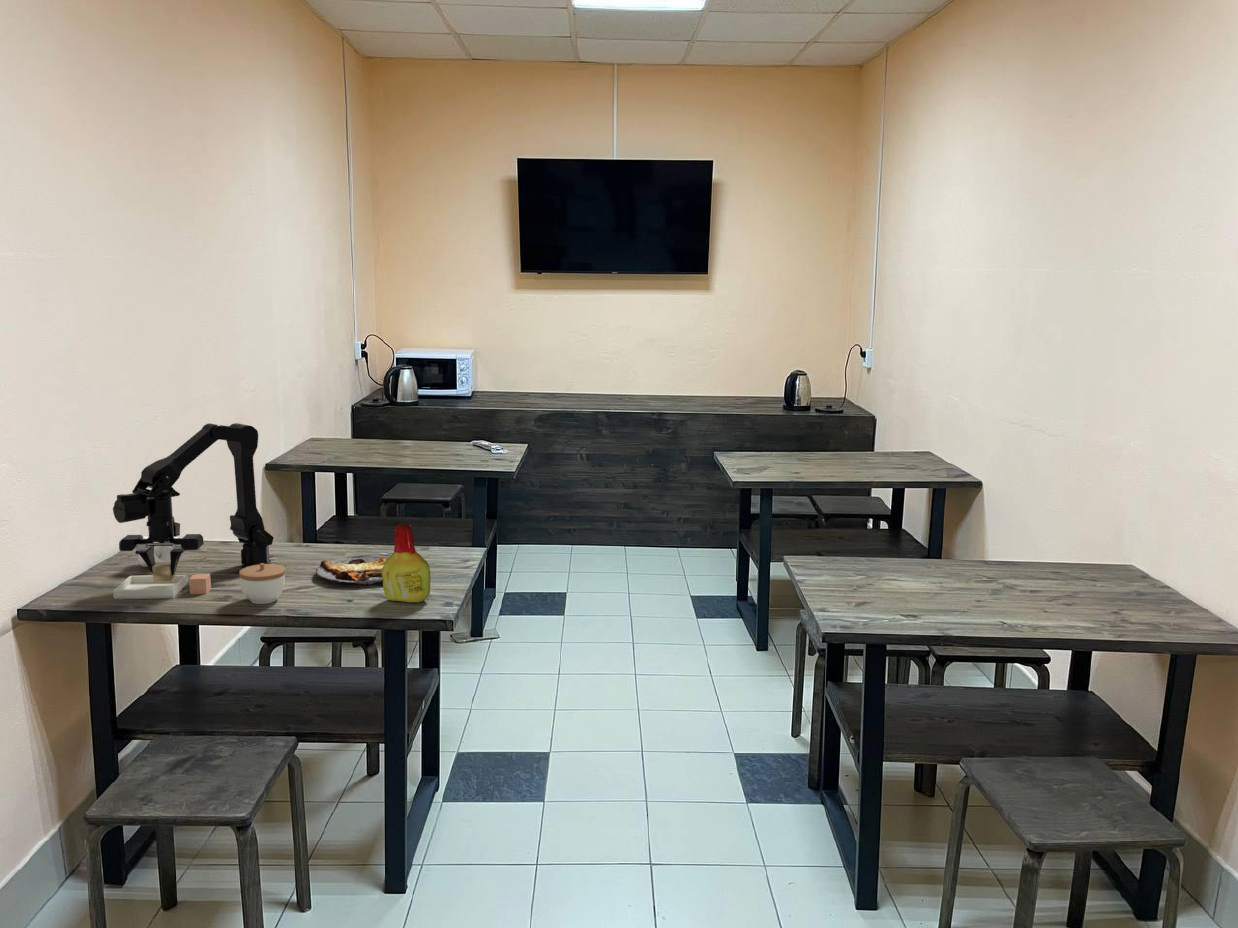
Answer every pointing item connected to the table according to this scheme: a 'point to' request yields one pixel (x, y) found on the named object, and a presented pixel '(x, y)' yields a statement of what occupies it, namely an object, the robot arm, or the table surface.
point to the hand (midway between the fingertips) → (164, 574)
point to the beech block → (162, 572)
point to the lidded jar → (262, 582)
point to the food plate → (353, 569)
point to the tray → (149, 587)
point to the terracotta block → (200, 584)
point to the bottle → (405, 570)
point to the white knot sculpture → (158, 554)
